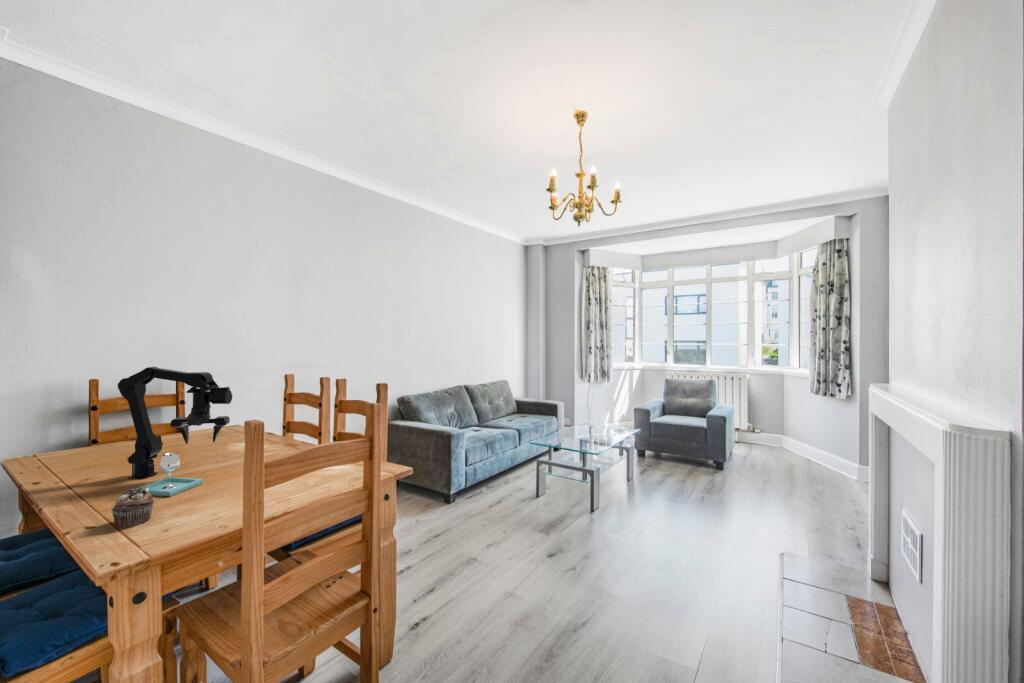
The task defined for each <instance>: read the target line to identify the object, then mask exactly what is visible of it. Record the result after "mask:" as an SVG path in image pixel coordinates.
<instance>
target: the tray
mask: <svg viewBox="0 0 1024 683" xmlns="http://www.w3.org/2000/svg"><path fill="white" fill-rule="evenodd" d="M170 483H171V485H177V487H175V488H172V489H162V487H164V486H167V485H168V484H169V477H168V476H167V477H165V478H162V479H159V480H157V481H153V482H151V483H148V484H145V485H143V486H139V487H137V488H135V490H138V489H140V488H145V487H146V488H149V493H150V494H151V495H154V496H153V497H163V496H169V497H168V498H171V497H174V496H176V495H178V494H177V493H179V494H181V493H183V492H182V491H184V492H185V490H186V491H188V490H191V489H194V488H196V487H198V486H201V485H203V484H202V483H203V478H193V477H191V478H188V477H174V476H171V478H170ZM200 484H201V485H200ZM197 485H198V486H197ZM195 486H196V487H195ZM190 488H191V489H190ZM187 489H188V490H187ZM180 492H181V493H180ZM175 494H176V495H175ZM173 495H174V496H173ZM170 496H171V497H170Z"/></svg>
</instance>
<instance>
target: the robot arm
mask: <svg viewBox="0 0 1024 683" xmlns="http://www.w3.org/2000/svg"><path fill="white" fill-rule="evenodd" d="M154 379H158V380H167V381H174V382H178V383H182V384H185V385H187V386H190V388H189V389H188V390H186V393H187V394H192V407H191V408H190V413H189V414H188V416H185V417H182V416H181V417H179V416H178V417H175V418H173V419H171V421H170V425H169V426H170V427H171V428H174V429H175V430H178V431H179V432H180V434H181V436H182V438H183V440H184V443H185V445H186V444H187V445H188V444H189V440H190V438H189V437H190V434H189V433H190V432H189V431H190V429H189V427H191V426H196V427H198V426H199V427H200V426H202V425H203V424H214V426H212V428H213V434H212V442H213V443H216V440H217V438H218V436H219V433H220V431H221V430H222V428H223V427H225V426H227V425H228V424H229V423H230V421H231V420H230V419H231V418H230V417H229V415H224V416H223V415H221V416H220V415H219V416H217V417H215V418H211V407H212V405H230V404H231V403H232V401H233V393H232V390H231V388H230V386H225V387H222V386H219V385H218V384H217V382H216V381H215V380H214V377H213V375H212V373H210V372H206V371H204V372H203V371H201V372H199V371H198V372H197V371H195V372H194V371H193V372H188V371H187V372H186V371H181V370H173V369H169V368H168V369H167V368H161V367H157V366H147V367H145V368H144V369H142V370H141V371H139V372H137V373H134V374H132V375H131V376H129V377H125V378H121V379H120V380H119V382H118V383H117V389H118V391H119V393H120V395H121V397H122V398H124V399H125V401H127V404H128V407H129V410H130V415H131V418H132V422H133V425H134V430H135V433H136V439H135V443H134V452H133V453H131V455H130V456H128V457H127V458H126V459H127V462H128V464H131V475H129V476H127V478H128V479H136V478H137V479H139V480H143V479H146V478H150V477H153V476H156V475H158V472H155V460H154V459H156V458H157V457H158V455H159V453H161V451H162V449H163V446H164V443H163V441H162V436H161V435H156V434H155V433H154V432H153V427H152V424H151V420H150V417H149V413H148V409H147V405H146V402H145V395H146V391H147V386H146V385H149V383H151V382H152V381H153V380H154ZM211 404H212V405H211Z"/></svg>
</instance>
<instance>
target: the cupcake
mask: <svg viewBox="0 0 1024 683" xmlns="http://www.w3.org/2000/svg"><path fill="white" fill-rule="evenodd" d="M135 489H136V488H134V487H131V488H130V490H127V491H124V492H122V493H121V495H120V496H119V498H118V499H116V502H115V505H114V506H113V507H112V508H111V513H112V518H113V520H114V521H113V522H114V526H115V528H118V527H126V528H131V527H130V526H133V527H137V526H140V525H139V524H141V525H143V524H145V522H146V523H148V522H147V521H150V520H151V517H152V512H153V507H154V504H155V503H154V502H155V501H154V496H152V495H151V494H150V493H149V488H146V487H145V488H140V489H138V490H135ZM149 519H150V520H149ZM136 525H137V526H136Z"/></svg>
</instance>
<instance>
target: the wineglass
mask: <svg viewBox="0 0 1024 683" xmlns="http://www.w3.org/2000/svg"><path fill="white" fill-rule="evenodd" d="M180 465H181V460H180V454H179V453H178V452H167V453H163V454H162V455H161V457H160V462H159V467H160V471H162V472H165V473H167V477H169V484H168V485H167V486H164V487H162V489H172V488H175V487H177V485H171V483H170V478H171V477H172V472H175V471H176V470H178V469H179V467H180Z"/></svg>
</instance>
